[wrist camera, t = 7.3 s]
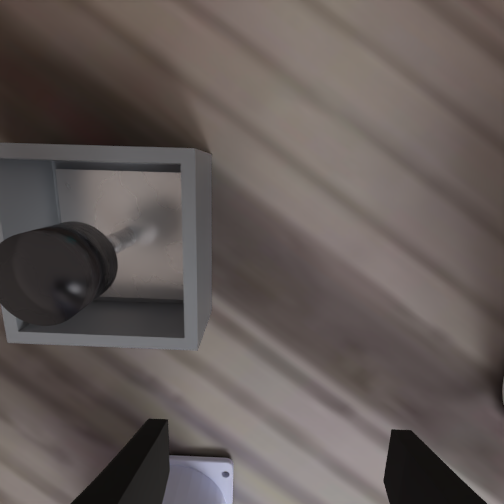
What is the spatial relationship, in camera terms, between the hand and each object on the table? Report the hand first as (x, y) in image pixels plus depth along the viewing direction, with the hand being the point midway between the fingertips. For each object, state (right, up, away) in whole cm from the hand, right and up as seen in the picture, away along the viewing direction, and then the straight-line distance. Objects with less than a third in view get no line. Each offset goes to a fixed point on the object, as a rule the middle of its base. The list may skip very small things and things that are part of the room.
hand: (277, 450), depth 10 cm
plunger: (-8, +7, +8) cm, 13 cm away
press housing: (-8, +7, +8) cm, 13 cm away
